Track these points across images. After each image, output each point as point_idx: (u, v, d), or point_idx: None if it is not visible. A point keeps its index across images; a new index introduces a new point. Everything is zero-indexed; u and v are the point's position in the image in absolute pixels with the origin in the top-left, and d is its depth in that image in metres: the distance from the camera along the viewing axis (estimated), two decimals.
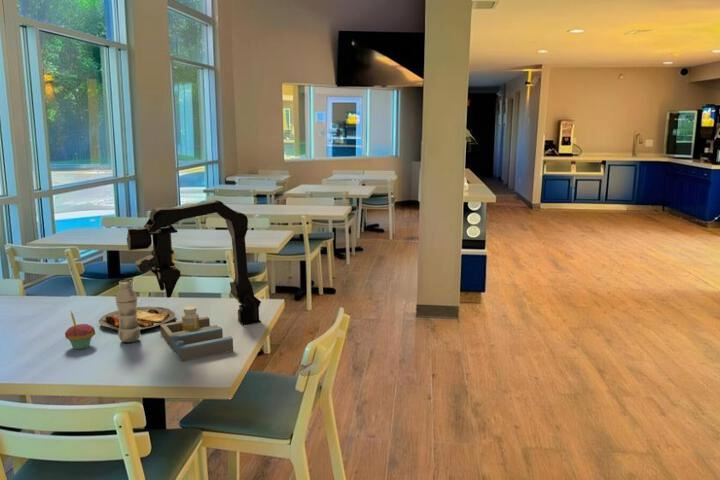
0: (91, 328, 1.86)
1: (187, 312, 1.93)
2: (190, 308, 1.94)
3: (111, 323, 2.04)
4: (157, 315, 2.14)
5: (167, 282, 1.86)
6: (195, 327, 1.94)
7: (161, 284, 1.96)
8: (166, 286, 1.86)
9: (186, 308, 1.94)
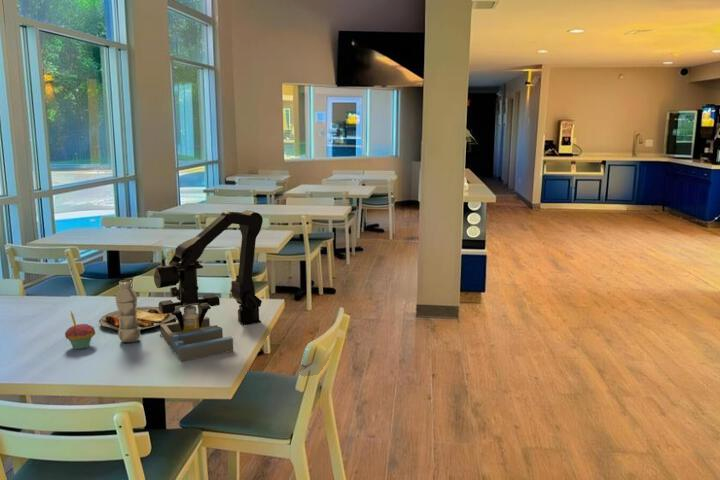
0: (91, 328, 1.86)
1: (187, 312, 1.93)
2: (190, 308, 1.94)
3: (111, 323, 2.04)
4: (157, 315, 2.14)
5: None
6: (195, 327, 1.94)
7: None
8: (176, 317, 1.94)
9: (186, 308, 1.94)
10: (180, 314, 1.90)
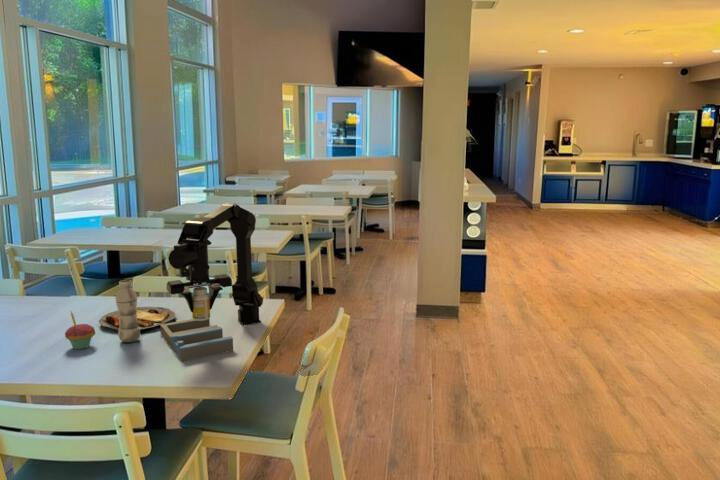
0: (91, 328, 1.86)
1: (197, 293, 1.79)
2: (200, 289, 1.80)
3: (111, 323, 2.04)
4: (157, 315, 2.14)
5: None
6: (206, 309, 1.81)
7: None
8: (186, 299, 1.80)
9: (197, 289, 1.80)
10: (190, 295, 1.77)
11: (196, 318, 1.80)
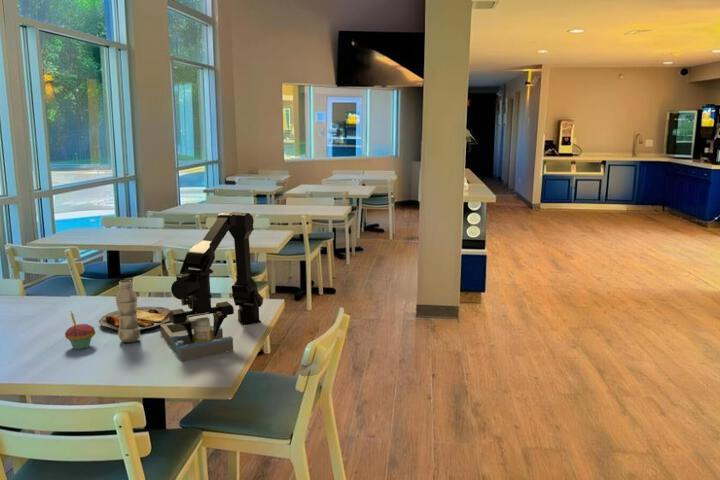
0: (91, 328, 1.86)
1: (200, 324, 1.81)
2: (203, 320, 1.82)
3: (111, 323, 2.04)
4: (157, 315, 2.14)
5: None
6: None
7: (214, 330, 1.86)
8: (185, 328, 1.81)
9: (199, 320, 1.82)
10: (189, 324, 1.78)
11: None
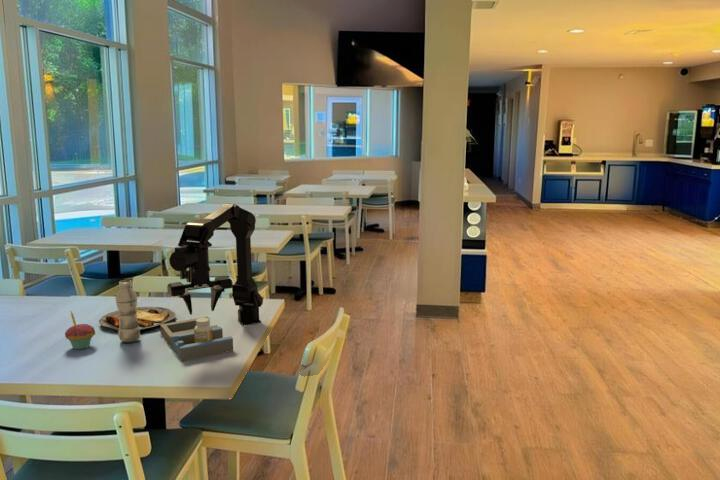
0: (91, 328, 1.86)
1: (200, 324, 1.81)
2: (203, 320, 1.82)
3: (111, 323, 2.04)
4: (157, 315, 2.14)
5: None
6: None
7: (211, 304, 1.84)
8: (185, 301, 1.80)
9: (199, 320, 1.82)
10: (189, 297, 1.76)
11: None
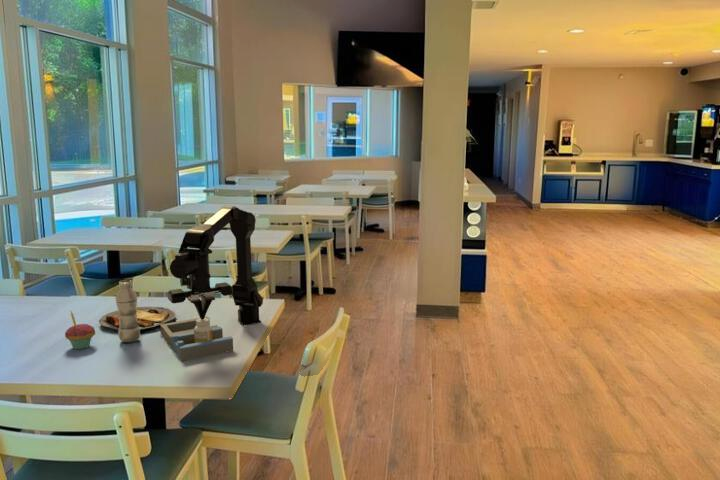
0: (91, 328, 1.86)
1: (200, 324, 1.81)
2: (203, 320, 1.82)
3: (111, 323, 2.04)
4: (157, 315, 2.14)
5: None
6: None
7: None
8: (195, 306, 1.82)
9: (199, 320, 1.82)
10: (200, 302, 1.79)
11: None
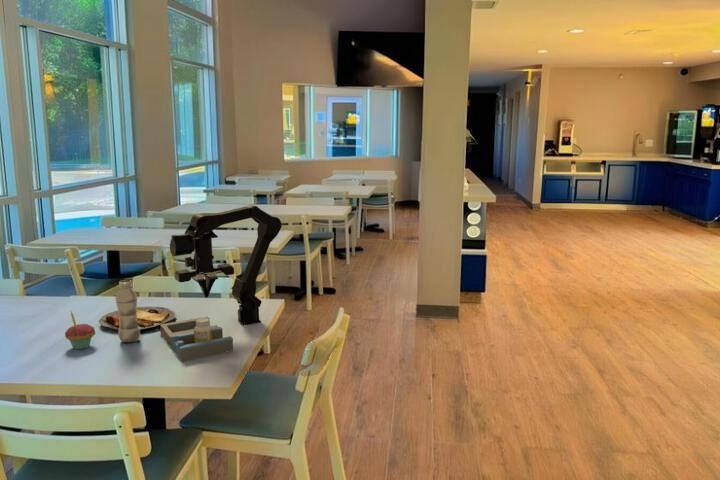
0: (91, 328, 1.86)
1: (200, 324, 1.81)
2: (203, 320, 1.82)
3: (111, 323, 2.04)
4: (157, 315, 2.14)
5: (200, 282, 1.97)
6: None
7: None
8: (200, 285, 1.97)
9: (199, 320, 1.82)
10: (204, 281, 1.94)
11: None
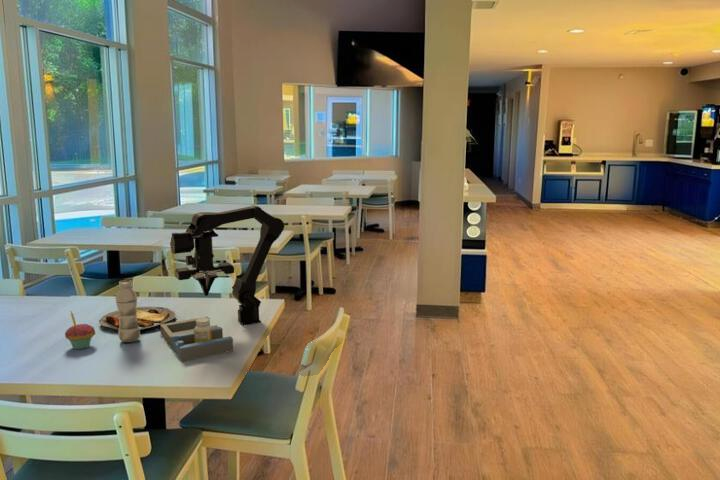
0: (91, 328, 1.86)
1: (200, 324, 1.81)
2: (203, 320, 1.82)
3: (111, 323, 2.04)
4: (157, 315, 2.14)
5: None
6: None
7: None
8: (200, 284, 1.99)
9: (199, 320, 1.82)
10: (204, 280, 1.96)
11: None
